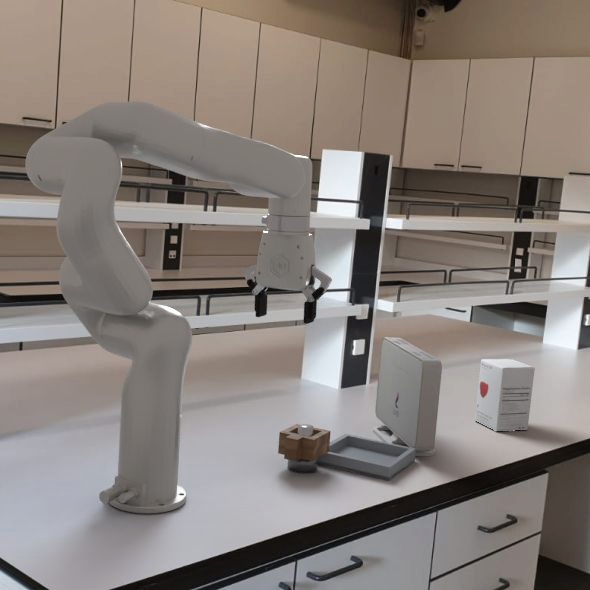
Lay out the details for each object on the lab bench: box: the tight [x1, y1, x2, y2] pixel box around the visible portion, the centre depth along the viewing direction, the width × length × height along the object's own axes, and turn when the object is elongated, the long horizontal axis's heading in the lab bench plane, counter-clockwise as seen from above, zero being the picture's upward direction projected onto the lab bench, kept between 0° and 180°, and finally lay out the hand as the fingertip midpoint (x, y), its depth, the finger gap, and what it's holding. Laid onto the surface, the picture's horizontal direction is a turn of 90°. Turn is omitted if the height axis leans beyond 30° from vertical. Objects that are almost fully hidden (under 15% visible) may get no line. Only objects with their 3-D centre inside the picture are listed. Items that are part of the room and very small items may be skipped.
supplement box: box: [474, 358, 536, 432], centre depth 199 cm, size 9×9×15 cm
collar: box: [277, 423, 331, 461], centre depth 159 cm, size 9×7×4 cm
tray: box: [318, 433, 417, 481], centre depth 166 cm, size 14×15×2 cm
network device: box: [372, 336, 443, 457], centre depth 181 cm, size 26×9×20 cm, turn 13°
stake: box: [287, 423, 319, 474], centre depth 160 cm, size 6×6×8 cm
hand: (284, 319), depth 158 cm, fingers open, 9 cm apart
